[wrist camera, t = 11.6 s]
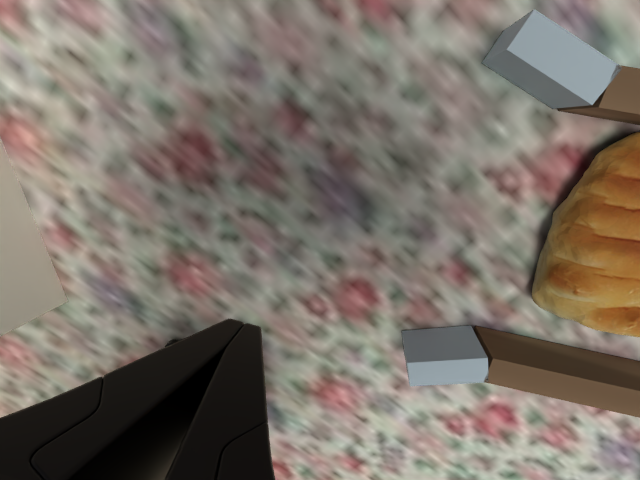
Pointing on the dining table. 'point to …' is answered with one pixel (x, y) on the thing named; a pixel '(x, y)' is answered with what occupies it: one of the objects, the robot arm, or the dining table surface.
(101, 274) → the dining table surface
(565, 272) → the pastry
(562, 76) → the holder
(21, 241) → the milk
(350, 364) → the dining table surface
